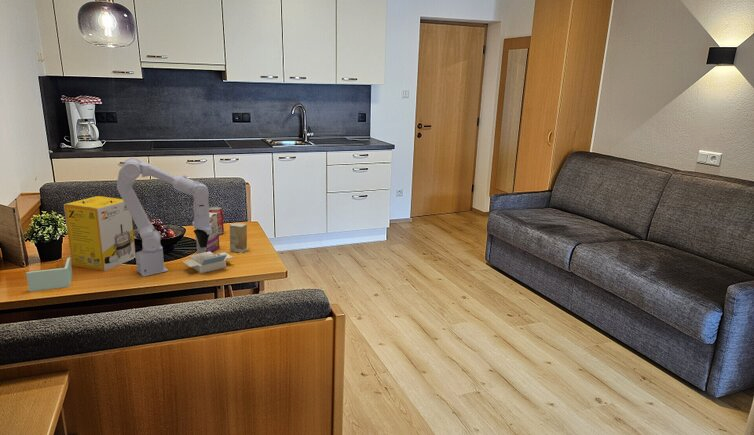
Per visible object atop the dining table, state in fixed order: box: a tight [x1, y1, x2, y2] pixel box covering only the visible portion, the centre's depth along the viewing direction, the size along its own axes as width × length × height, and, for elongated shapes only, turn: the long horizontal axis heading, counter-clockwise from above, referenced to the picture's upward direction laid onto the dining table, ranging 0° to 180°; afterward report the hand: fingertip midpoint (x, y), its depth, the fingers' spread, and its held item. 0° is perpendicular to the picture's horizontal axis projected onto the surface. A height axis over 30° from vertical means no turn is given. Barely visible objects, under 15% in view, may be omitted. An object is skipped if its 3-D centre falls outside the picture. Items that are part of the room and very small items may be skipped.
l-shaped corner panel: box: [25, 257, 73, 292], centre depth 177 cm, size 12×12×8 cm
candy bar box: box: [194, 212, 220, 254], centre depth 213 cm, size 11×5×16 cm, turn 168°
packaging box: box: [63, 195, 136, 272], centre depth 196 cm, size 16×16×25 cm
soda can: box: [209, 206, 225, 236], centre depth 238 cm, size 7×7×13 cm
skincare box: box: [229, 222, 248, 254], centre depth 216 cm, size 6×4×12 cm
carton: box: [182, 251, 234, 275], centre depth 198 cm, size 18×13×6 cm
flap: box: [202, 253, 228, 265], centre depth 192 cm, size 9×4×1 cm
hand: (203, 247), depth 197 cm, fingers closed
